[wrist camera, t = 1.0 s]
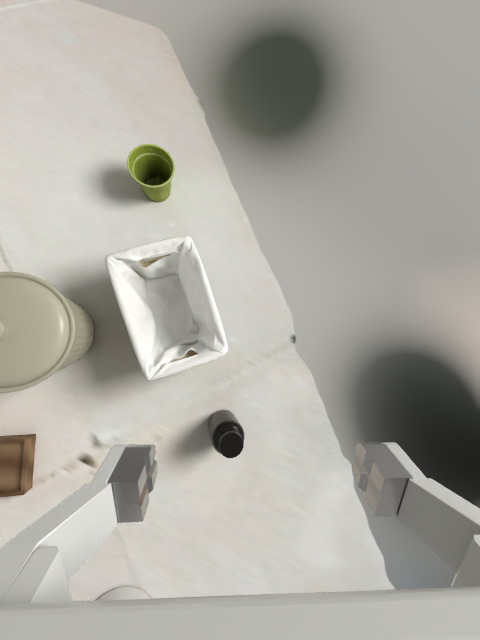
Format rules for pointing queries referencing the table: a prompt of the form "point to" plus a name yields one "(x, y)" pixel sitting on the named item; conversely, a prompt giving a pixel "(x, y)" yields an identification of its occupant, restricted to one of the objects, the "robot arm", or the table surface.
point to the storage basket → (167, 306)
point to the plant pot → (152, 170)
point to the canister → (38, 331)
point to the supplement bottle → (226, 433)
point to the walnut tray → (16, 464)
